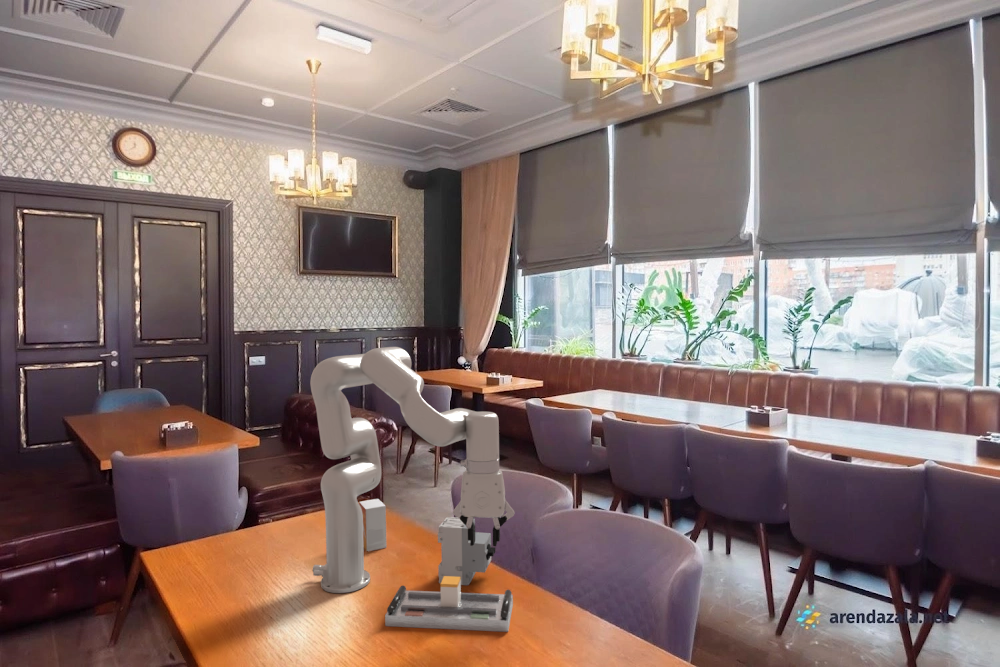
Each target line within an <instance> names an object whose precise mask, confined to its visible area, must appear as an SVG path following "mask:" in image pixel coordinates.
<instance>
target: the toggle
mask: <svg viewBox="0 0 1000 667" xmlns="http://www.w3.org/2000/svg"><path fill="white" fill-rule="evenodd" d="M439 585H440V592H441V607H458V606H459V604H460V601H461V593H462V591H461V590H462V589H461V588H462V585H461V577H455V576H444V577H443V579H442V582H441V583H439Z"/></svg>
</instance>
